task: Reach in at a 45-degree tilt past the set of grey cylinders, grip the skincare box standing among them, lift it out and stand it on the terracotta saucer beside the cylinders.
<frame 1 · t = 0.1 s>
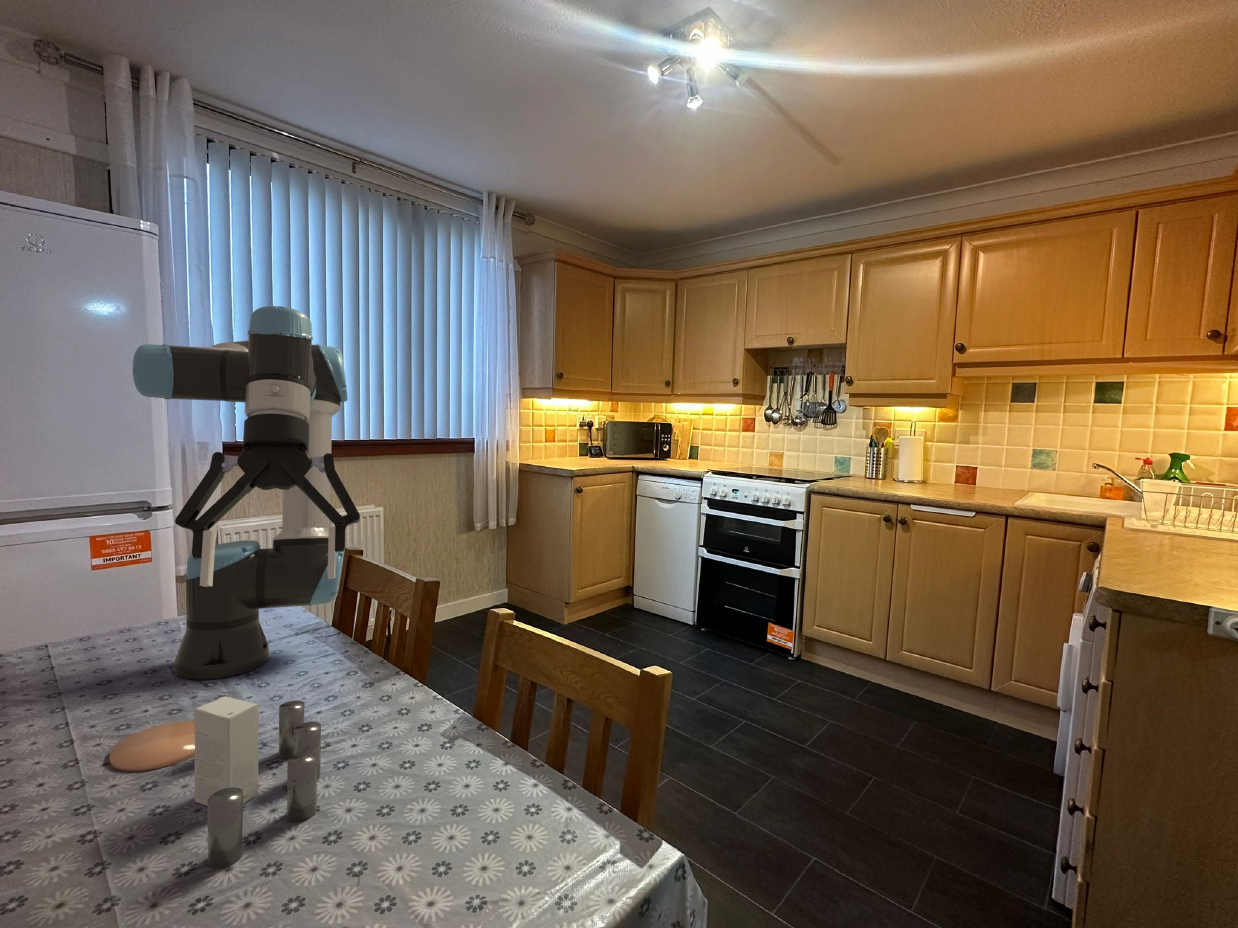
hand: (271, 582, 74), 28 cm above the table, tool tilted 20°, fingers open, 13 cm apart
skincare box: (226, 799, 75), on the table
saucer: (164, 746, 86), on the table
set of grey cylinders: (226, 798, 75), on the table
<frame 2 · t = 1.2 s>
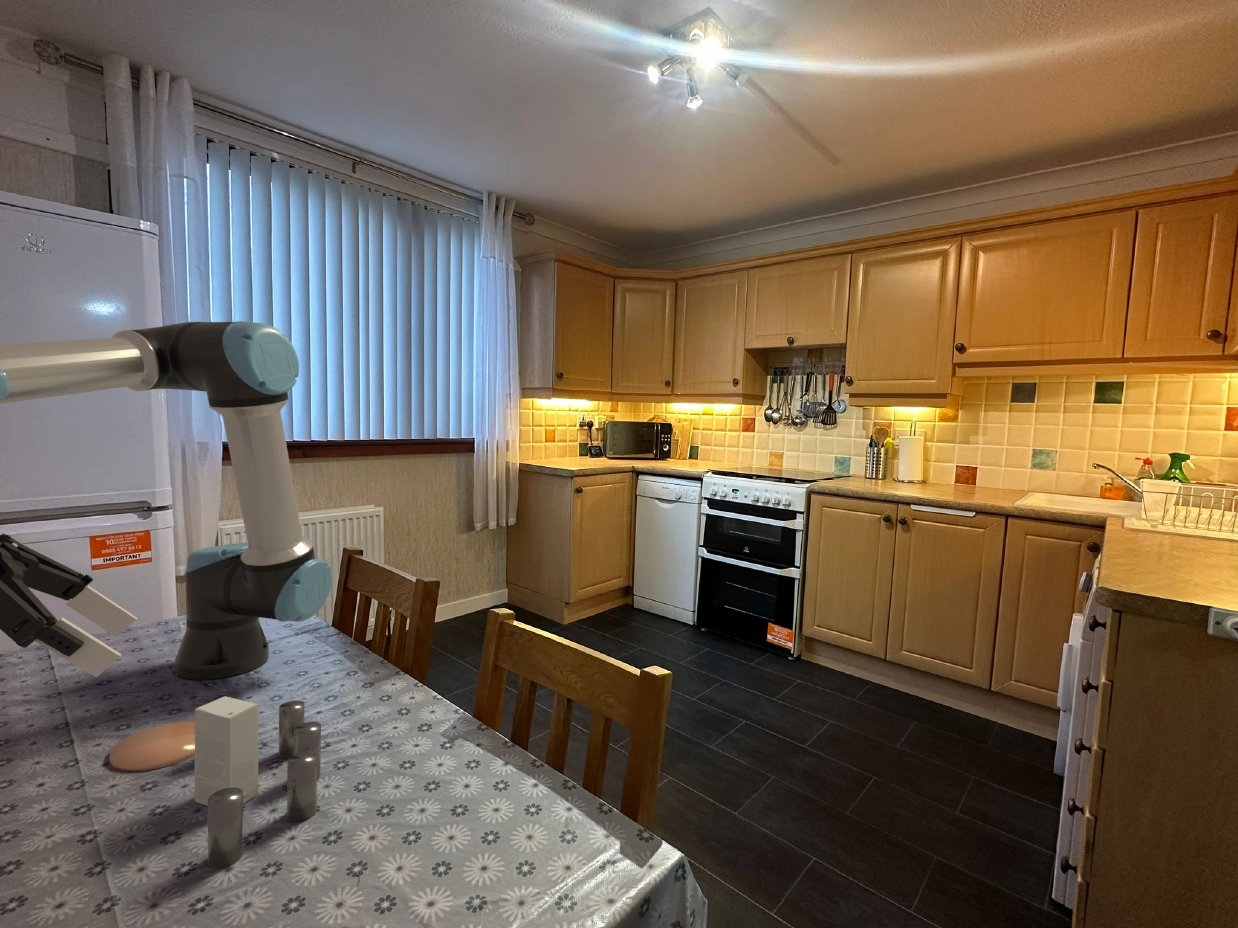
hand: (119, 645, 68), 21 cm above the table, tool tilted 45°, fingers open, 13 cm apart
nothing on the table moved.
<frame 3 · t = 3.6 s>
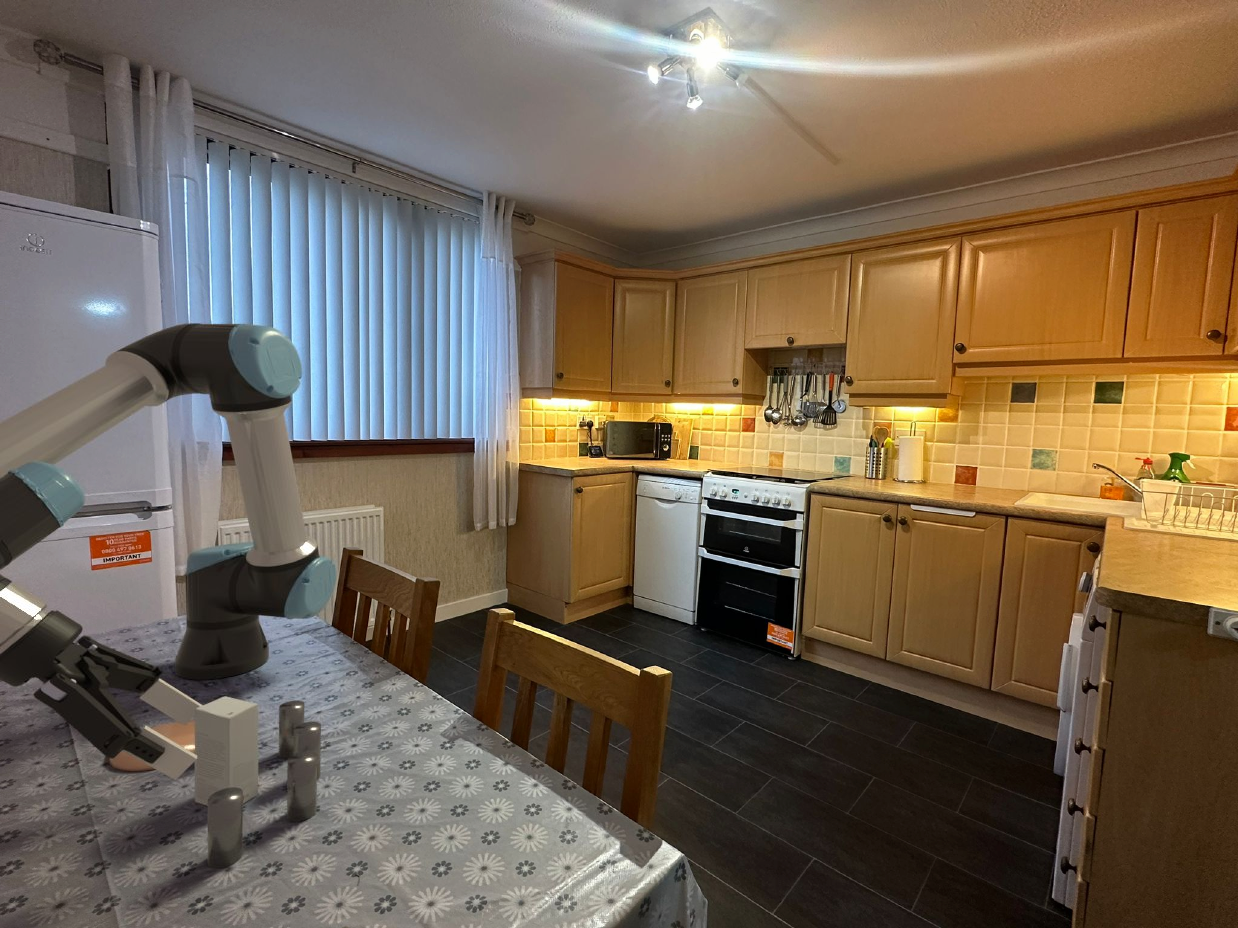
hand: (191, 739, 72), 9 cm above the table, tool tilted 45°, fingers open, 13 cm apart
nothing on the table moved.
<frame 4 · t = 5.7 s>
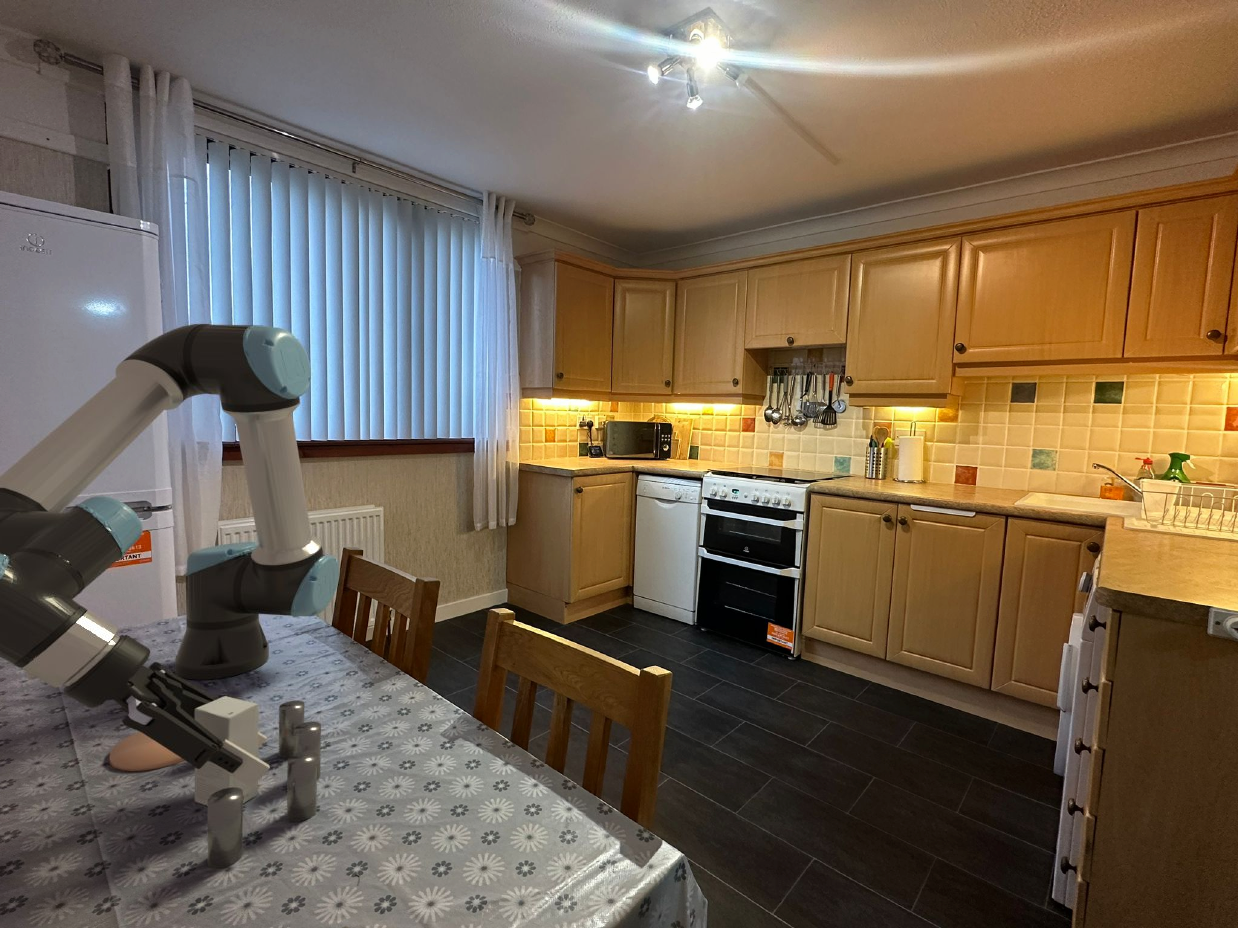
hand: (259, 760, 77), 4 cm above the table, tool tilted 45°, fingers closed on skincare box, 7 cm apart
skincare box: (226, 799, 75), on the table, touching gripper
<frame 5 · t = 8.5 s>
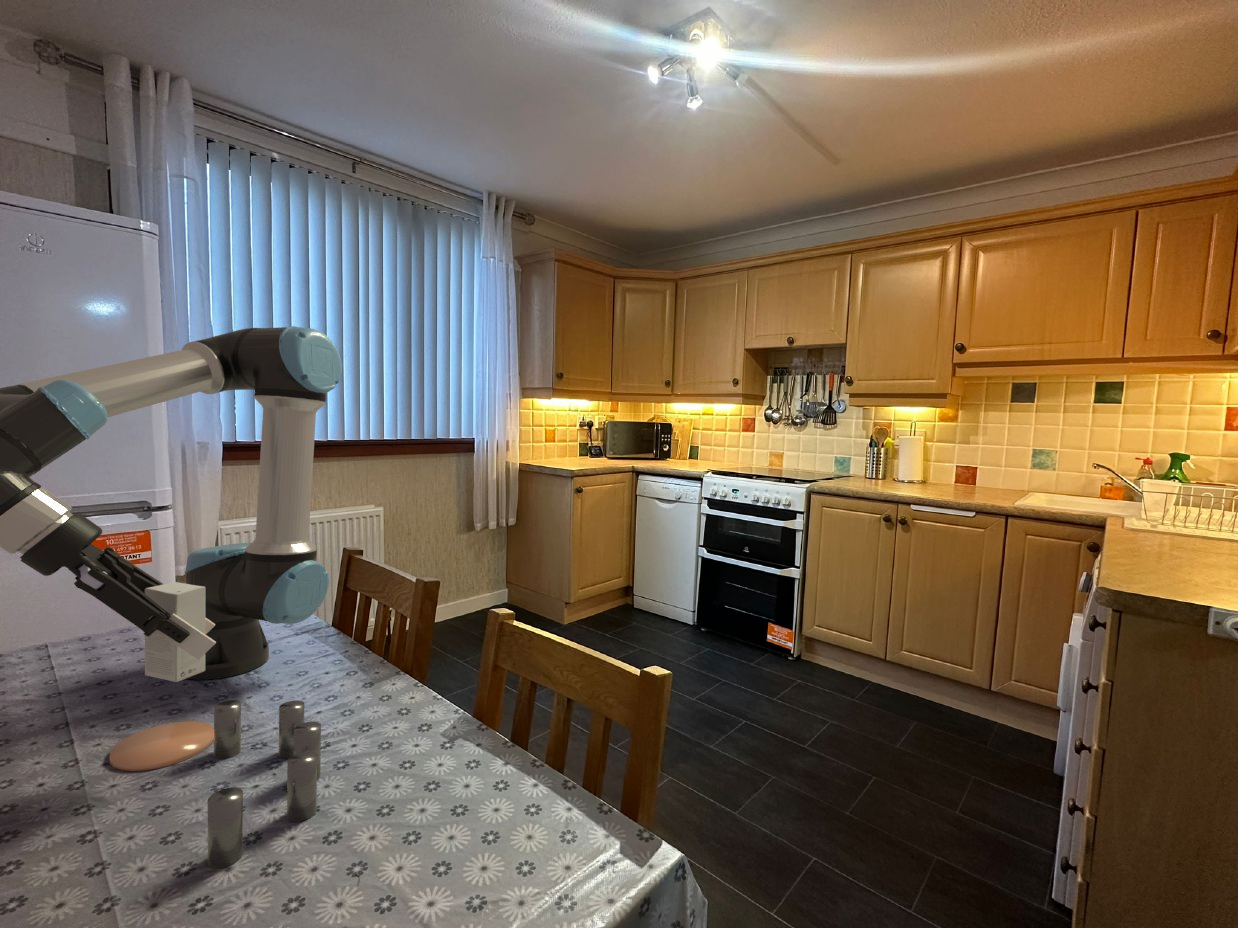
hand: (206, 640, 83), 17 cm above the table, tool tilted 45°, fingers closed on skincare box, 7 cm apart
skincare box: (175, 674, 81), point 13 cm above the table, touching gripper
when the fingers open (6 cm above the table, at t = 11.4 s): skincare box drops 1 cm, resting on saucer.
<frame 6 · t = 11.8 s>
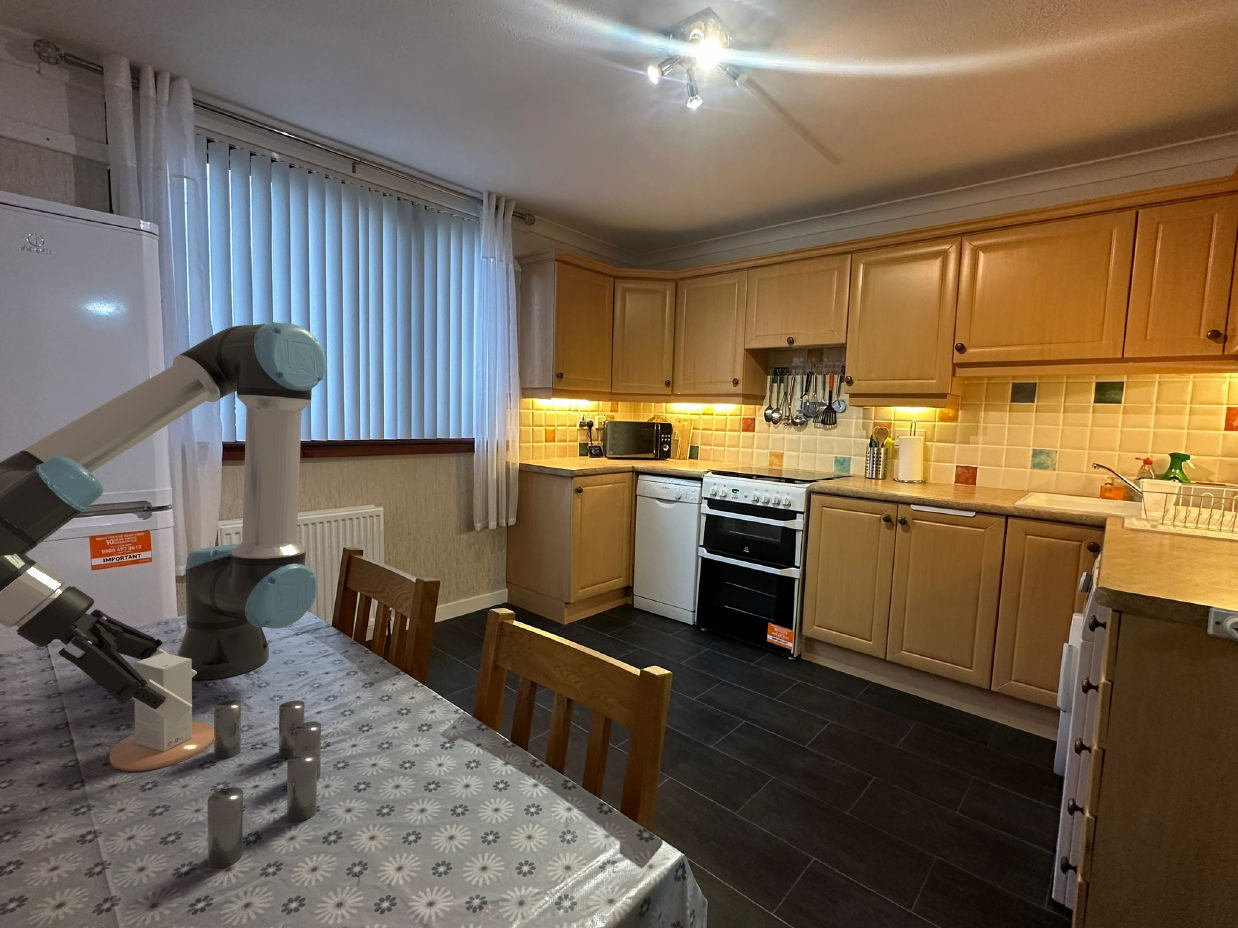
hand: (186, 696, 87), 7 cm above the table, tool tilted 45°, fingers open, 12 cm apart
skincare box: (163, 742, 86), point 1 cm above the table, touching saucer
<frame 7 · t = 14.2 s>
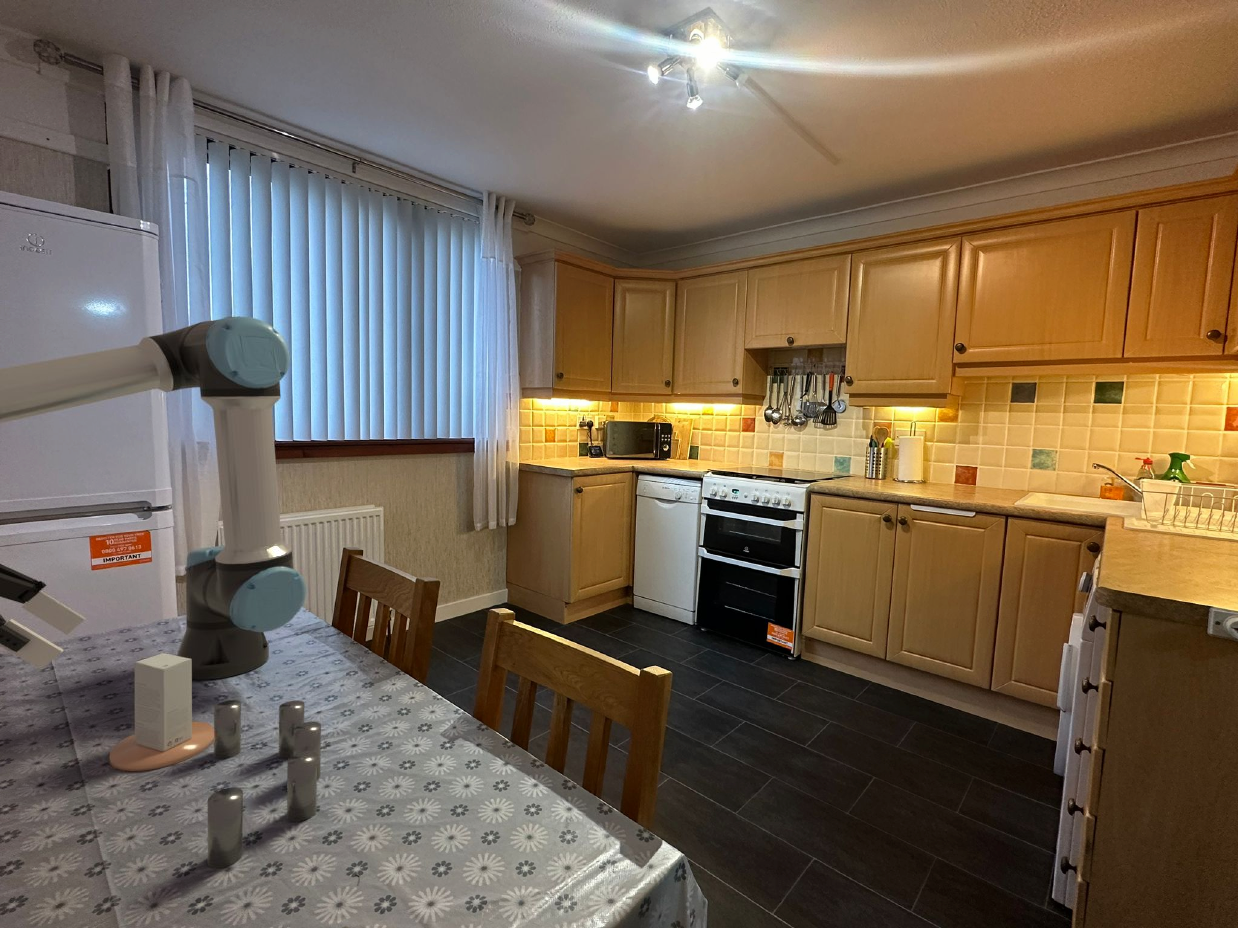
hand: (65, 642, 79), 17 cm above the table, tool tilted 45°, fingers open, 13 cm apart
nothing on the table moved.
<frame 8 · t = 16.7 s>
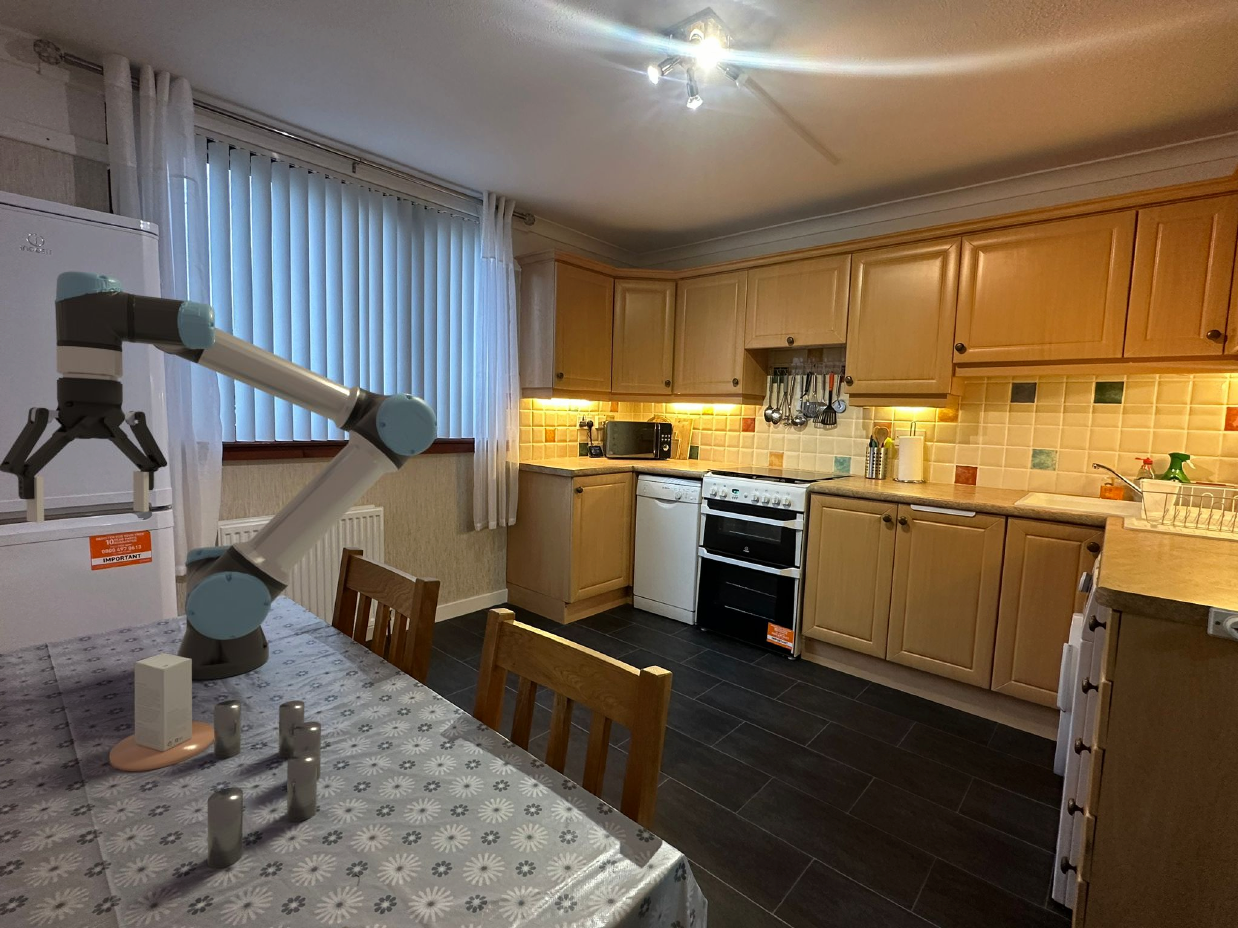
hand: (91, 516, 92), 32 cm above the table, tool pointing down, fingers open, 13 cm apart
nothing on the table moved.
at the end: skincare box inside the target area on the saucer (0.2 cm from its centre), point 0.6 cm above the saucer's base; skincare box tilted 0°; the gripper is holding nothing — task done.
